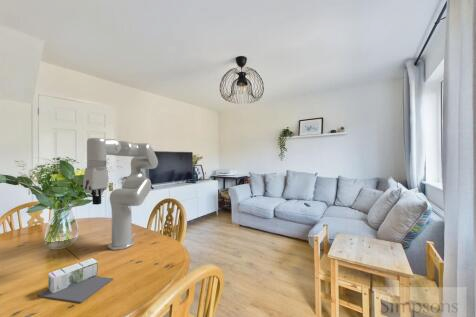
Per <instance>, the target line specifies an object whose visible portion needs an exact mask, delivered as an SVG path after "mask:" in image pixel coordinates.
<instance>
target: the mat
mask: <svg viewBox="0 0 476 317" xmlns="http://www.w3.org/2000/svg"><path fill="white" fill-rule="evenodd" d="M113 280H114V277H108V276H107V277H106V276H98V275H97V276H94V277H92V278H89V279H87V280H85V281H82V282H80V283H77V284H75V285H72V286H70V287H67V288H65V289H63V290H60V291H58V292H55V293H52V292H50V291H49V289H46V290H44V291H43V292H40V293H38V294H37V297H38V298H44V299H52V300H58V301H64V302H72V303H78V304H82V303H83V302H85V301H86V300H87V299H89V298H90V297H92V296H93V295H95V293H97V292H98V291H100V290H101V289H103V288H104V287H106V286H107V285H108V284H109V283H110V282H113Z"/></svg>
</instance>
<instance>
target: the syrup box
mask: <svg viewBox="0 0 476 317" xmlns="http://www.w3.org/2000/svg"><path fill="white" fill-rule="evenodd" d="M98 267H99V261H97V260H96V259H95V258H92V257H91V258H89V259H86V260H84V261H80V262H77V263H74V264H72V265H68V266H66V267H63V268H60V269H56V270H53V271H51V272H48V274H47V275H48V276H47V277H48V278H47V283H48V284H47V288H48V289H49V291H50V292H52V293H55V292H58V291H60V290H63V289H65V288H67V287H70V286H72V285H75V284H77V283H80V282H82V281H85V280H87V279H89V278H92V277H94V276H98V271H99V270H98ZM48 289H47V290H48Z"/></svg>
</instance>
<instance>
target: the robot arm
mask: <svg viewBox="0 0 476 317" xmlns="http://www.w3.org/2000/svg"><path fill="white" fill-rule="evenodd" d="M107 156H115V157H117V156H118V157H132V158H131V161H130V174H129V175H128V177H126V179H125V180H124V182H122V186H121V188H116V189H113V190H112V191H111V192H110V195H109V202H110V207H111V242H110V243H109V244H108V245H107V248H108V249H109V250H112V251H117V250H123V249H127V248H130V247H132V246H133V245H134V244H135V240H133V238H134V237H135V236H136V235H137V234H136V232H133V233H132V210H131V209H130V207H138V206H141V205H142V204H143V202H145V200H146V198H147V196H148V195H149V193H150V191H151V188H152V182H151V180H150V178H148V177H145V174H144V172H143V171H142V170H152V169H156V168H157V167H158V165H159V160H158V157H157V155H156V153H155V151H154V149H153V147H152V146H151V144H150V143H146V142H143V143H142V142H141V143H140V142H139V143H138V142H132V141H126V140H123V141H122V140H117V139H114V138H113V139H112V138H105V139H104V138H101V137H89V138H87V140H86V167H85V168H84V173H83V178H82V179H83V180H82V181H83V182H82V188H83V190H84V191H85V193H86V194H90V195H91V196H92V200H91V201H92V205H96V206H97V205H101V204H102V196H103V193H104V191H107V187H108V186H109V173H108V167H107V164H108V163H107Z"/></svg>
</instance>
